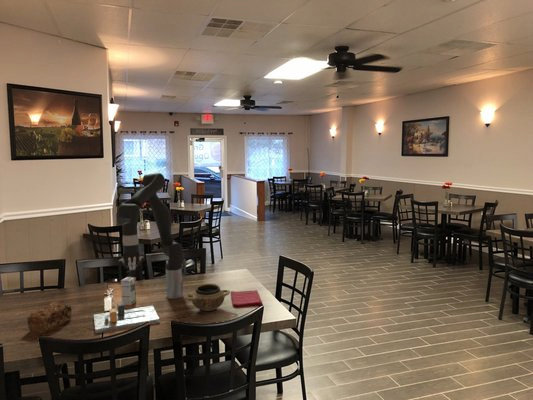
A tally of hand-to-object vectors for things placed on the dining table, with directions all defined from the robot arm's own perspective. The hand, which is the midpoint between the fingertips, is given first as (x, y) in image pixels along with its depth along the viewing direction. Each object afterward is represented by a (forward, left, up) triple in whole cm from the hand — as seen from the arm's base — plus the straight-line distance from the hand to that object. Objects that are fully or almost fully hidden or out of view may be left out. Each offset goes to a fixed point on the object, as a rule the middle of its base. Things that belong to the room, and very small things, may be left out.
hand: (132, 276), depth 207 cm
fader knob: (+10, +2, -21) cm, 23 cm away
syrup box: (0, -26, -23) cm, 35 cm away
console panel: (+4, -1, -23) cm, 23 cm away
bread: (+39, -11, -23) cm, 47 cm away
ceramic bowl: (-38, +4, -23) cm, 45 cm away
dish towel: (-63, -3, -24) cm, 67 cm away
